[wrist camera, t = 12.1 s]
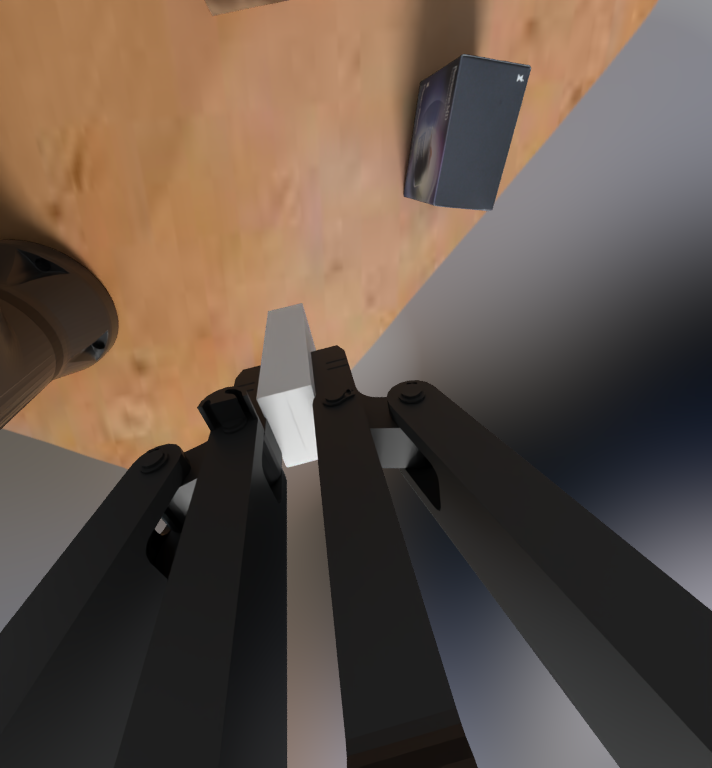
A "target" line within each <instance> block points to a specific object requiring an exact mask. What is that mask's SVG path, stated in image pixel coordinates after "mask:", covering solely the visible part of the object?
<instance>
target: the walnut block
mask: <svg viewBox="0 0 712 768" xmlns="http://www.w3.org/2000/svg"><path fill="white" fill-rule="evenodd" d="M282 1H287V0H205V2H206V4H207V6H208V8H209V10H210V12H211V14H212V16H215V15H220V14H225V13H230V12H234V11H239V10H244V9H249V8H254V7H258V6H263V5H268V4H273V3H278V2H282Z"/></svg>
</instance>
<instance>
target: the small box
mask: <svg viewBox="0 0 712 768" xmlns="http://www.w3.org/2000/svg"><path fill="white" fill-rule="evenodd" d="M530 71H531V67H530V65H524V64H518V63H512V62H507V61H501V60H495V59H490V58H485V57H478V56H472V55H466V54H463V55H461V56H460V57H459V58H457V59H456V60H454V61H452V62H451V63H449V64H448V65H446V66H445V67H443V68H442V69H440V70H439V71H437V72H435V73H434V74H432V75H431V76H429V77H428V78H426V79H425V80H423V81H421V83H420V88H419V94H418V101H417V108H416V115H415V121H414V128H413V135H412V142H411V148H410V155H409V162H408V169H407V175H406V182H405V189H404V197H407V198H411V199H414V200H418V201H421V202H424V203H428V204H432V205H434V206H441V207H450V208H461V209H472V210H485V211H491V210H492V209H493V206H494V202H495V199H496V195H497V191H498V188H499V184H500V180H501V177H502V173H503V169H504V166H505V162H506V159H507V155H508V151H509V148H510V144H511V140H512V137H513V133H514V129H515V126H516V122H517V118H518V115H519V111H520V107H521V104H522V100H523V96H524V93H525V89H526V85H527V82H528V78H529V75H530Z"/></svg>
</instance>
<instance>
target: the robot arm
mask: <svg viewBox="0 0 712 768" xmlns="http://www.w3.org/2000/svg"><path fill="white" fill-rule="evenodd" d="M117 334H118V316H117V312H116V309H115V306H114V304H113V301H112V299H111V298H110V296H109V294H108V293H107V291H106V290H105V288H104V287H103V286H102V284H101V283H100V282H99V281H98V280H97V279H96V278H95V277H94V276H93V275H92V274H91V273H90V272H89V271H88V270H87V269H86V268H84V267H83V266H82V265H80V264H79V263H78V262H76V261H75V260H73V259H72V258H70V257H68V256H66V255H65V254H63V253H61V252H59V251H56V250H54V249H52V248H49V247H46V246H44V245H40V244H37V243H33V242H28V241H21V240H0V430H1V429H2V428H3V427H4V426H5V425H6V424H7V423H8V422H9V421H10V420H11V419H12V418H13V417H14V416H15V415H16V414H17V413H18V412H19V411H21V410H22V409H23V408H24V407H25V406H26V405H27V404H28V403H29V402H30V401H31V400H32V399H33V398H34V397H35V396H36V395H37V394H38V393H39V392H41V391H42V390H43V389H44V388H45V387H46V386H47V385H48V384H49V383H50V382H51V381H52V380H54V379H57V378H60V377H63V376H66V375H69V374H72V373H75V372H78V371H81V370H84V369H86V368H88V367H90V366H92V365H94V364H95V363H96V362H98V361H99V360H100V359H101V358H102V357H103V356H104V355H105V354H106V353H107V352H108V351H109V350H110V349H111V347H112V346H113V344H114V343H115V340H116V338H117ZM197 408H198V410H199V412H200V413H201V415H202V417H203V418H204V420H205V422H206V424H207V425H208V427H209V429H210V430H211V432H210V435H209V439H208V441H207V442H205V443H203V444H201V445H199V446H197V447H195V448H193V449H191V450H189V451H186V452H183V451H182V449H181V448H180V447H179V446H178V445H176V444H166V445H161V446H158V447H155V448H154V449H151V450H149V451H147V452H146V453H145V454H143V455H142V456H141V457H139V458H138V459H137V460H136V461H135V462H134V463H133V464H132V466H131V467H130V468H129V469H128V471H127V472H126V474H125V475H124V476H123V477H122V478H121V480H120V481H119V482H118V483H117V485H116V486H115V487H114V489H113V490H112V491H111V492H110V494H109V495H108V496H107V497H106V499H105V500H104V501H103V503H102V504H101V505H100V507H99V508H98V509H97V510H96V512H95V513H94V514H93V515H92V517H91V518H90V519H89V520H88V522H87V523H86V524H85V526H84V527H83V528H82V529H81V531H80V532H79V533H78V534H77V536H76V537H75V538H74V540H73V541H72V542H71V543H70V545H69V546H68V547H67V548H66V550H65V551H64V552H63V554H62V555H61V556H60V557H59V559H58V560H57V561H56V563H55V564H54V565H53V566H52V568H51V569H50V570H49V572H48V573H47V574H46V575H45V577H44V578H43V579H42V580H41V582H40V583H39V584H38V586H37V587H36V588H35V589H34V591H33V592H32V593H31V594H30V596H29V597H28V598H27V599H26V601H25V602H24V603H23V605H22V606H21V607H20V609H19V610H18V611H17V612H16V614H15V615H14V616H13V617H12V619H11V620H10V621H9V622H8V624H7V625H6V626H5V628H4V629H3V630H2V631H1V633H0V768H287V480H286V476H285V474H284V471H283V469H282V458H283V460H284V462H285V464H286V467H291V466H295V465H299V464H303V463H306V462H310V461H314V460H318V465H319V476H320V486H321V496H322V505H323V516H324V527H325V536H326V547H327V557H328V567H329V577H330V587H331V597H332V607H333V617H334V626H335V637H336V648H337V657H338V668H339V678H340V688H341V698H342V706H343V707H342V708H343V718H344V727H345V738H346V751H347V768H478V767H477V764H476V762H475V759H474V756H473V753H472V751H471V748H470V746H469V743H468V741H467V738H466V736H465V733H464V730H463V727H462V724H461V722H460V718H459V715H458V712H457V709H456V706H455V702H454V699H453V696H452V693H451V689H450V686H449V683H448V680H447V677H446V673H445V670H444V667H443V664H442V661H441V657H440V654H439V651H438V647H437V644H436V641H435V638H434V635H433V631H432V628H431V625H430V622H429V618H428V615H427V612H426V609H425V605H424V602H423V599H422V596H421V593H420V589H419V586H418V583H417V580H416V576H415V573H414V570H413V567H412V564H411V560H410V557H409V554H408V551H407V547H406V544H405V541H404V538H403V534H402V531H401V528H400V525H399V522H398V518H397V515H396V512H395V508H394V505H393V502H392V499H391V496H390V492H389V489H388V486H387V483H386V479H385V476H384V473H383V470H382V468H399V469H400V471H401V473H402V475H403V476H404V477H405V479H406V480H407V481H408V483H409V484H410V485H411V487H412V488H413V489H414V491H415V492H416V493H417V495H418V496H419V497H420V499H421V500H422V501H423V503H424V504H425V505H426V507H427V508H428V510H429V511H430V512H431V514H432V515H433V516H434V518H435V519H436V520H437V522H438V523H439V524H440V526H441V527H442V528H443V530H444V531H445V533H446V534H447V535H448V536H449V538H450V539H451V541H452V542H453V543H454V545H455V546H456V547H457V549H458V550H459V551H460V553H461V554H462V555H463V557H464V558H465V559H466V561H467V562H468V564H469V565H470V566H471V567H472V569H473V570H474V572H475V573H476V574H477V576H478V577H479V578H480V580H481V581H482V582H483V584H484V585H485V586H486V588H487V589H488V590H489V592H490V593H491V594H492V596H493V597H494V598H495V600H496V601H497V603H498V604H499V605H500V607H501V608H502V609H503V611H504V612H505V613H506V615H507V616H508V617H509V619H510V620H511V621H512V623H513V624H514V625H515V627H516V628H517V629H518V631H519V632H520V634H521V635H522V636H523V638H524V639H525V640H526V642H527V643H528V644H529V646H530V647H531V648H532V650H533V651H534V652H535V654H536V655H537V656H538V658H539V659H540V661H541V662H542V663H543V665H544V666H545V667H546V669H547V670H548V671H549V673H550V674H551V675H552V677H553V678H554V679H555V680H556V682H557V683H558V685H559V686H560V687H561V689H562V690H563V691H564V693H565V694H566V695H567V697H568V698H569V700H570V701H571V702H572V704H573V705H574V706H575V708H576V709H577V710H578V711H579V713H580V714H581V716H582V717H583V718H584V720H585V721H586V722H587V724H588V725H589V727H590V728H591V729H592V730H593V732H594V733H595V735H596V736H597V737H598V739H599V740H600V741H601V743H602V744H603V745H604V747H605V748H606V749H607V751H608V752H609V753H610V755H611V756H612V757H613V759H614V760H615V762H616V763H617V764H618V766H619V767H620V768H712V611H711V610H710V609H709V608H708V607H706V606H705V605H704V604H702V603H701V602H700V601H699V600H698V599H696V598H695V597H694V596H692V595H691V594H690V593H689V592H688V591H687V590H685V589H684V588H683V587H682V586H680V585H679V584H678V583H677V582H675V581H674V580H673V579H672V578H670V577H669V576H668V575H667V574H666V573H664V572H663V571H662V570H661V569H659V568H658V567H657V566H656V565H654V564H653V563H652V562H651V561H649V560H648V559H647V558H646V557H644V556H643V555H642V554H641V553H640V552H638V551H637V550H636V549H635V548H633V547H632V546H631V545H630V544H628V543H627V542H626V541H625V540H623V539H622V538H621V537H620V536H619V535H617V534H616V533H615V532H614V531H612V530H611V529H610V528H609V527H607V526H606V525H605V524H604V523H602V522H601V521H600V520H599V519H598V518H596V517H595V516H594V515H593V514H591V513H590V512H589V511H588V510H586V509H585V508H584V507H583V506H581V505H580V504H579V503H578V502H577V501H575V500H574V499H573V498H572V497H570V496H569V495H568V494H567V493H565V492H564V491H563V490H562V489H560V488H559V487H558V486H557V485H556V484H554V483H553V482H552V481H551V480H549V479H548V478H547V477H546V476H544V475H543V474H542V473H541V472H539V471H538V470H537V469H536V468H534V467H533V466H532V465H531V464H530V463H528V462H527V461H526V460H525V459H523V458H522V457H521V456H520V455H518V454H517V453H516V452H515V451H513V450H512V449H511V448H510V447H509V446H507V445H506V444H505V443H504V442H502V441H501V440H500V439H499V438H497V437H496V436H495V435H494V434H492V433H491V432H490V431H489V430H488V429H486V428H485V427H484V426H482V425H481V424H480V423H479V422H478V421H476V420H475V419H474V418H473V417H471V416H470V415H469V414H468V413H467V412H465V411H464V410H463V409H462V408H460V407H459V406H458V405H457V404H455V403H454V402H453V401H451V400H450V399H449V398H448V397H447V396H445V395H444V394H443V393H442V392H441V391H439V390H438V389H437V388H436V387H434V386H433V385H431V384H429V383H427V382H423V381H419V380H415V381H406V382H402V383H399V384H397V385H396V386H394V387H392V388H391V390H390V391H389V392H388V395H387V397H369V396H366V395H363V394H361V393H360V392H359V391H358V390H357V388H356V387H355V383H354V380H353V377H352V373H351V370H350V367H349V364H348V360H347V357H346V354H345V351H344V350H343V349H342V348H340V347H339V346H337V345H336V346H332V347H328V348H324V349H320V350H316V349H315V345H314V342H313V338H312V335H311V332H310V328H309V325H308V321H307V318H306V314H305V311H304V307H303V304H302V303H301V304H297V305H292V306H288V307H284V308H280V309H276V310H272V311H268V316H267V324H266V331H265V338H264V346H263V353H262V360H261V366H257V367H253V368H249V369H245V370H243V371H242V372H241V373H240V374H239V375H238V377H237V378H236V380H235V384H234V386H233V387H226V388H223V389H220V390H218V391H215V392H214V393H212V394H210V395H208V396H207V397H206V398H205V399H204V400H202V401H201V403H200V404H199V406H198V407H197ZM161 518H162V519H163V521H164V522H165V523H166V524H167V525H166V527H165V529H164V530H163V532H162V533H161V534H159V533H157V532H156V530H155V527H156V526H157V524H158V522H159V520H160V519H161Z"/></svg>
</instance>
